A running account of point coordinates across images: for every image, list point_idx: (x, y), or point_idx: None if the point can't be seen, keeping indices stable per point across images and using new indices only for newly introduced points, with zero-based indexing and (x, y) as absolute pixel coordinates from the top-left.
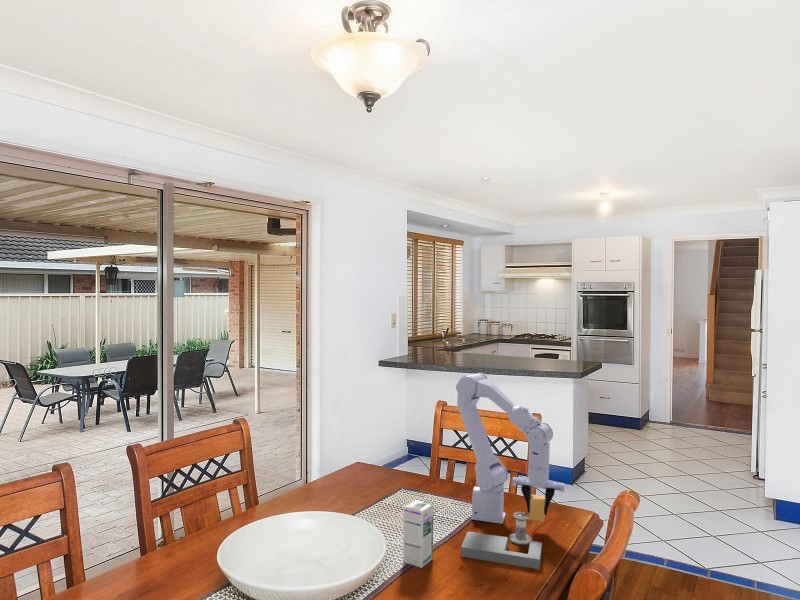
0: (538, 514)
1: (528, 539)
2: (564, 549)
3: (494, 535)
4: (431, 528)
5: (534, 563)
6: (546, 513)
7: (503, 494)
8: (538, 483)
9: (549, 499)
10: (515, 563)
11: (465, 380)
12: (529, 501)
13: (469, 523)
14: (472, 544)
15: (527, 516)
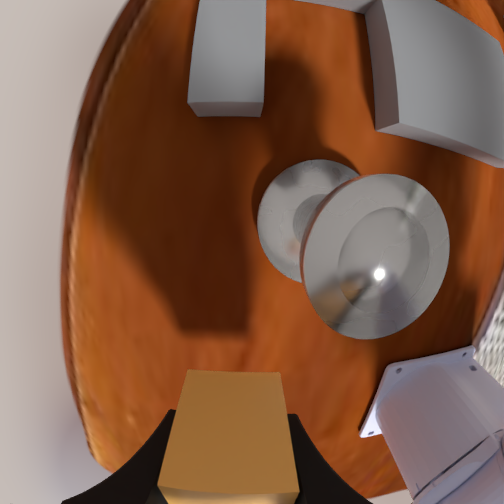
0: (219, 401)
1: (275, 212)
2: (92, 192)
3: (454, 138)
4: None
5: None
6: (166, 415)
7: (414, 475)
8: None
9: (109, 489)
10: None
11: None
12: (301, 474)
13: (482, 315)
14: (486, 53)
15: (325, 240)
